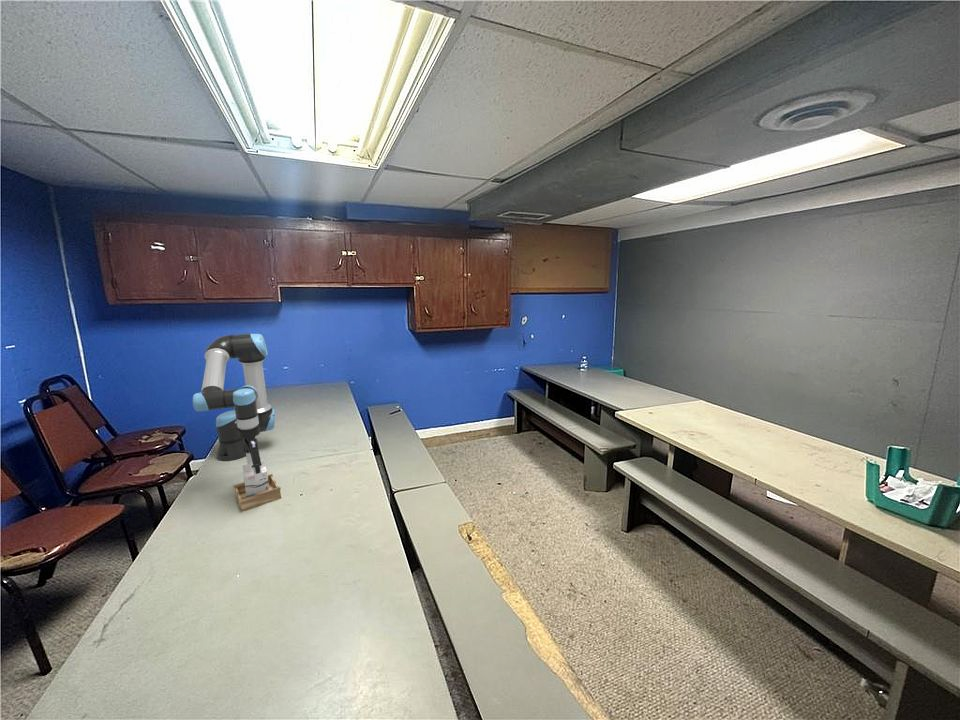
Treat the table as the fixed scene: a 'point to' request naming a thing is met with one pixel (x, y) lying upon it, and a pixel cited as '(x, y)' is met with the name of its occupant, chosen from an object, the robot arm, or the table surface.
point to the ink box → (250, 483)
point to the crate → (257, 495)
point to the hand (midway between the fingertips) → (255, 472)
